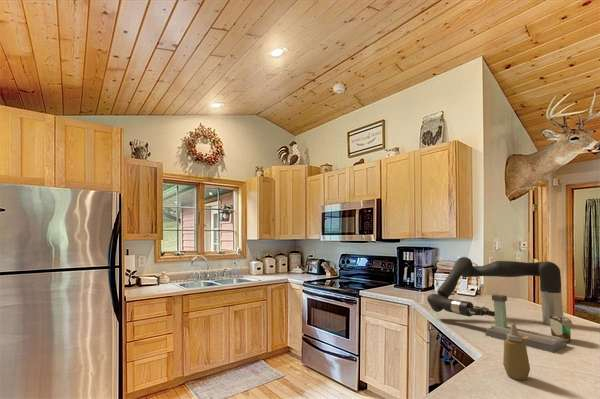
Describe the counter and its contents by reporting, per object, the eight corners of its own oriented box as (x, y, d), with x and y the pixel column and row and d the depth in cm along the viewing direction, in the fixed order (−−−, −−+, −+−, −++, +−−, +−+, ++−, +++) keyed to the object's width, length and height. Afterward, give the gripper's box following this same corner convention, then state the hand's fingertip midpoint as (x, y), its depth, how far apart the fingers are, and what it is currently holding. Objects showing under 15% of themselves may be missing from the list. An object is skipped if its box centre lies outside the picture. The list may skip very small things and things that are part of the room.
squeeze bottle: (498, 372, 121) (495, 321, 123) (519, 371, 122) (515, 320, 124) (514, 382, 113) (510, 328, 115) (537, 381, 114) (532, 327, 116)
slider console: (500, 330, 171) (500, 322, 172) (566, 346, 148) (566, 336, 148) (485, 335, 164) (485, 326, 164) (553, 352, 140) (552, 342, 141)
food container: (580, 344, 149) (578, 321, 150) (564, 343, 151) (562, 321, 151) (564, 336, 161) (562, 314, 162) (550, 335, 163) (548, 314, 163)
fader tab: (498, 326, 168) (496, 294, 169) (509, 328, 163) (506, 295, 165) (493, 327, 165) (491, 295, 167) (504, 330, 161) (502, 296, 163)
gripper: (454, 302, 178) (487, 308, 164) (468, 299, 186) (501, 304, 171) (455, 316, 178) (488, 324, 163) (469, 313, 185) (502, 319, 170)
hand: (495, 314), depth 167 cm, fingers closed
